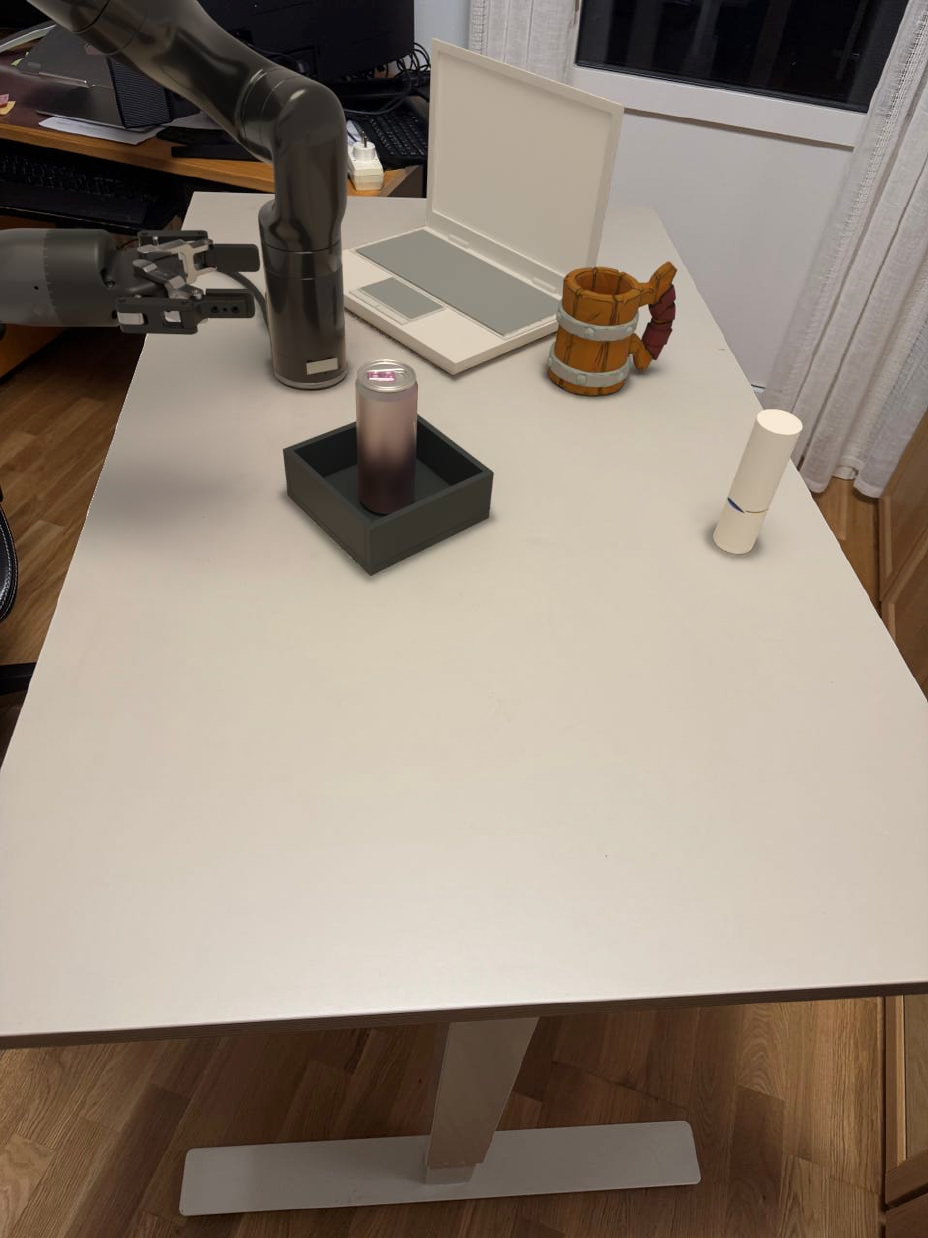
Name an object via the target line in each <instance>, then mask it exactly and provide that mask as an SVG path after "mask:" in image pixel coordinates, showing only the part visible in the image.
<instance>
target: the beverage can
mask: <svg viewBox="0 0 928 1238" xmlns="http://www.w3.org/2000/svg"><path fill="white" fill-rule="evenodd" d="M354 387H355V388H354V389H355V390H354V392H355V418H356V420H355V421H356V426H357V458H358V490H359V498H360V500H361V502H362V503H363V505H364V506H365V507H366V508H367V509H369V510H371V511H372V512H375V513H378V514H384V515H389V514H391V513H393V512H395V511H398V510H400V509H402V508H404V507H406V506H409V505H410V504H411V503H412V502H413V500H414V497H415V470H416V437H417V414H418V400H419V399H418V398H419V383H418V381H417V372H416V371H415V368H413V367H412V366H411V365H410V364H407V363H406V362H404V361H400V360H397V359H390V358H389V359H388V358H379V359H374V360H370V361H367V362H365V363H364V364H362V365H361V366H360V367H359V368H358V370H357V372H356V379H355V383H354Z"/></svg>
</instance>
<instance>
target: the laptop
mask: <svg viewBox="0 0 928 1238" xmlns="http://www.w3.org/2000/svg"><path fill="white" fill-rule="evenodd" d="M430 56H431V57H430V83H429V84H430V85H429V112H428V113H429V115H428V116H429V117H428V141H427V142H428V143H427V144H428V146H427V147H428V149H427V175H426V176H427V180H426V205H425V207H426V208H425V209H426V210H425V225H424V226H421V227H418V228H414V229H412V230H408V231H404V232H402V233H398V234H394V235H391V236H388V237H385V238H381V239H378V240H375V241H370V242H368V243H364V244H361V245H358V246H354V247H350V248H348V249H345V250H342V264H343V289H344V309H347V310H348V311H350V312H351V313H353V314H354V315H356V316H357V317H358V318H359V317H360V318H361V319H362V320H364V321H366V322H368V323H369V324H371V325H372V326H373V327H375V328H377V329H378V330H380V331H381V332H383V333H385V334H386V335H388V336H389V337H391V338H393V339H394V340H396V341H397V342H399V343H401V344H402V345H404V346H405V347H407V348H408V349H409V350H412V351H413V352H415V354H418V355H420V356H421V357H422V358H424V359H426V360H428V362H430V363H432V364H434V365H436V366H437V367H439V368H440V369H442V370H443V371H445V372H447V373H448V374H450V375H451V376H454V375H456V374H459V373H461V372H464V371H466V370H468V369H470V368H473V367H476V366H478V365H480V364H482V363H485V362H487V361H489V360H492V359H495V358H497V357H499V356H501V355H504V354H506V353H508V352H511V351H512V350H515V349H518V348H520V347H523V346H524V345H528V344H530V343H531V342H534V341H536V340H539V339H541V338H543V337H545V336H546V337H547V336H548V335H550V334H553V333H555V332H557V331H558V326H559V323H558V321H557V320H556V314H557V312H558V305H559V302H560V300H561V299H562V297H563V280H564V278H565V276H566V275H567V274H568V273H570V272H571V271H573V270H576V269H581V268H588V267H591V268H594V267H597V264H598V256H599V251H600V246H601V240H602V236H603V230H604V224H605V219H606V213H607V208H608V201H609V196H610V190H611V185H612V180H613V174H614V169H615V163H616V159H617V158H616V157H617V153H618V146H619V140H620V136H621V130H622V124H623V119H624V113H625V107H626V105H624V104H622V103H618V102H616V101H613V100H611V99H607V98H605V97H602V96H599V95H596V94H593V93H591V92H589V91H585V90H582V89H579V88H576V87H573V86H571V85H568V84H565V83H562V82H560V81H557V80H554V79H551V78H548V77H546V76H543V75H539V74H537V73H534V72H531V71H529V70H525V69H523V68H520V67H517V66H514V65H511V64H509V63H505V62H503V61H500V60H497V59H494V58H493V57H490V56H487V55H484V54H480V53H478V52H475V51H473V50H470V49H466V48H463V47H461V46H458V45H455V44H453V43H450V42H448V41H447V42H446V41H443V40H441V39H438V38H435V37H431V52H430Z"/></svg>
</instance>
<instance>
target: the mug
mask: <svg viewBox="0 0 928 1238" xmlns="http://www.w3.org/2000/svg"><path fill="white" fill-rule="evenodd" d="M677 272H678V269H677V268H676V266H675V265H674V264H673V263H672V262H671V261H666V262H665V263H663V264H661V265H660V266H659V267H658V268H657V269H656V270H655V271H654V272H653V273H652V275H651V276H650V278H649V280H648V281H647V282H640V281H639V280H638V279H637V278H635V277H634V276H632V275H630V274H629V273H627V272H625V271H619V270H618V269H617V268H613V267H606V266H596V267H594V268H591V267H588V268H581V269H576V270H573V271H571V272H570V273H568V274H567V275H566V276H565V278H564V280H563V297H562V299H561V300H560V302H559V305H558V312H557V314H556V320H557V321H558V323H559V326H558V331H556V336H555V340H554V341H553V343H552V344H551V345H550V348H549V352H548V357H547V362H546V363H547V366H548V368H547V369H548V370H547V375H548V376H549V378H550V379H551V380H552V381H553V382H554V383H555V384H556V385H557V386H558V387H561V389H563V390H564V389H565V391H566V392H569V393H572V394H577V395H581V396H583V395H586V396H589V397H596V396H598V395H600V396H605V395H609V394H614V393H615V392H618V391H619V390H620V389H621V388H623V386H624V385H625V382H626V380H627V379H626V378H627V377H628V375H629V372H630V368H631V361H632V362H633V366H634V368H635V369H636V370H638V371H646V370H647V369H648V368H649V366H650V365H651V363H652V361H658V358H659V357H660V355H661V353H662V351H663V349H664V346H666V345H667V344H668V341H669V338H670V336H671V334H672V333H673V328H672V326H673V323H674V321H675V320H676V314H677V313H676V311H677V308H676V307H677V306H676V302H675V301H676V300H677V296H676V294H677V293H676V289H675V285H674V284H673V281H674V278H675V276H676V274H677ZM646 305H647V307H648V311H649V315H650V316H651V318H650V321H648V322H647V323H646V326H645V329H644V331H643V333H642V335H641V337H639V335H638V333H636V330H637V328H638V327H637V326H638V323H639V318H640V312H639V309H640V308H641V307H644V306H646ZM631 356H632V360H631Z"/></svg>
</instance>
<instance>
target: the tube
mask: <svg viewBox="0 0 928 1238" xmlns="http://www.w3.org/2000/svg"><path fill="white" fill-rule="evenodd" d="M756 415H757V416H756V418H755V421H754V422H753V426H752V429H751V432H750V433H749V436H748V440H747V442H746V446H745V448H744V451H743V453H742V456H741V459H740V461H739V464H738V467H737V470H736V473H735V475H734V477H733V480H732V483H731V486H730V489H729V491H728V494H727V497H726V499H725V502H724V505H723V508H722V511H721V513H720V516H719V519H718V522H717V524H716V526H715V530H714V532H713V535H712V538H713V542H714V543H715V545H716V546H717V547H718V548H719V549H721V550H723V551H724V552H727V553H729V554H733V555H743V554H747V553H749V552H751V551H752V549H753V547H754V546H755V543H756V540H757V538H758V535H759V533H760V531H761V528H762V526H763V523H764V521H765V519H766V516H767V514H768V511H769V508H770V507H771V505H772V502H773V499H774V497H775V495H776V493H777V490H778V487H779V485H780V482H781V480H782V478H783V475H784V474H785V471H786V469H787V466H788V464H789V461H790V458H791V456H792V454H793V451H794V449H795V446H796V444H797V442H798V440H799V437H800V435H801V432H802V430H803V422H802V421H801V420H800V419H799V418H798V417H797V416H795V415H794V414H792V413H790V412H789V411H786V410H781V409H775V408H770V409H769V408H768V409H763V410H761V411H760V412H758V413H757V414H756Z"/></svg>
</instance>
